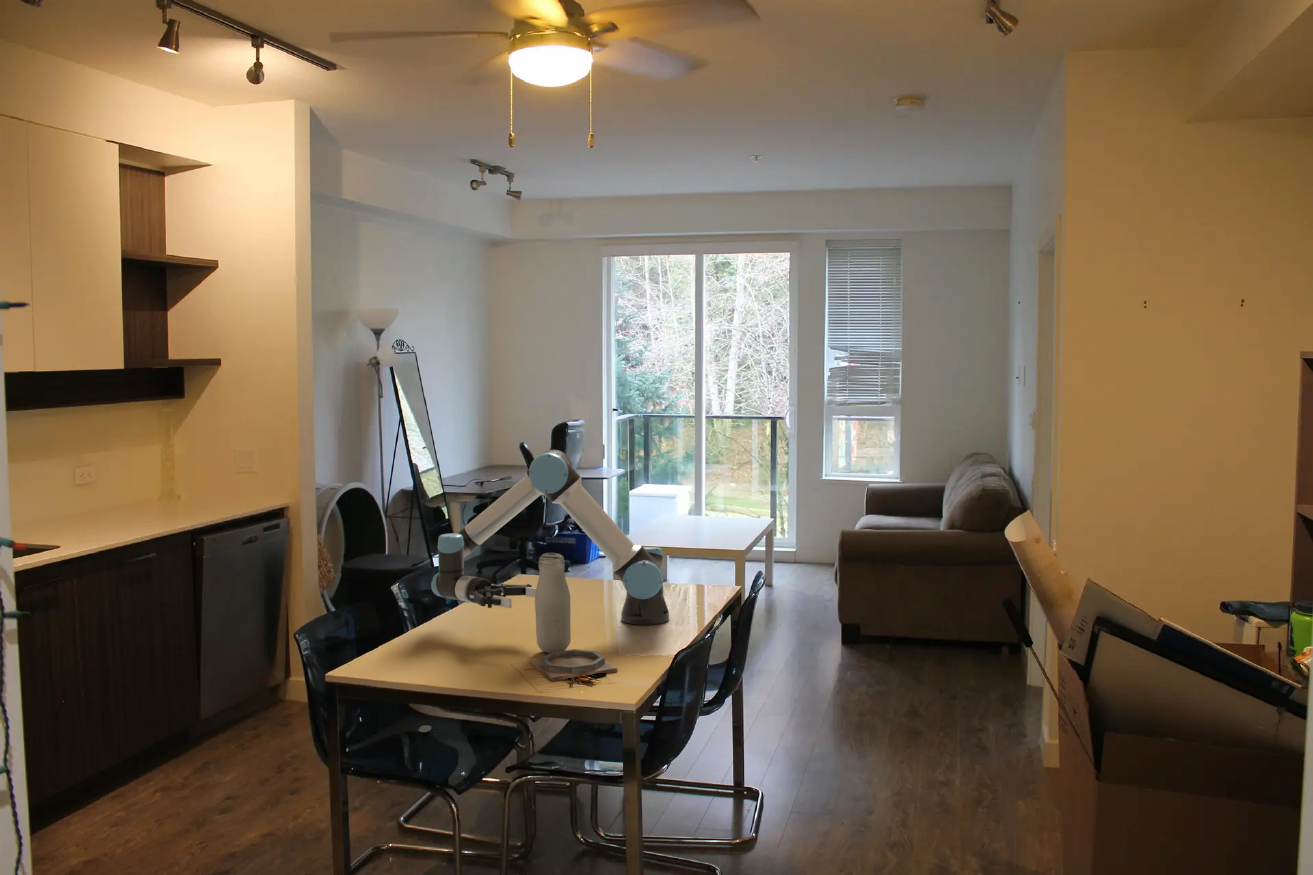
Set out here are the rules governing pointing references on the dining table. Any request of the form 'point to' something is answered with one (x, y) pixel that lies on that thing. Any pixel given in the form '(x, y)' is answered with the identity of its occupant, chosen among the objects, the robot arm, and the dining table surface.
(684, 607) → the dining table surface
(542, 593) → the glass bottle
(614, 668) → the socket board
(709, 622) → the dining table surface
